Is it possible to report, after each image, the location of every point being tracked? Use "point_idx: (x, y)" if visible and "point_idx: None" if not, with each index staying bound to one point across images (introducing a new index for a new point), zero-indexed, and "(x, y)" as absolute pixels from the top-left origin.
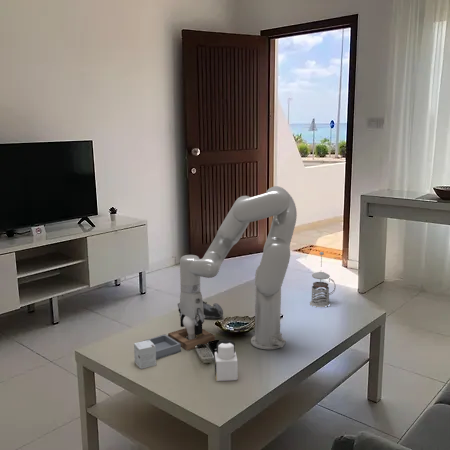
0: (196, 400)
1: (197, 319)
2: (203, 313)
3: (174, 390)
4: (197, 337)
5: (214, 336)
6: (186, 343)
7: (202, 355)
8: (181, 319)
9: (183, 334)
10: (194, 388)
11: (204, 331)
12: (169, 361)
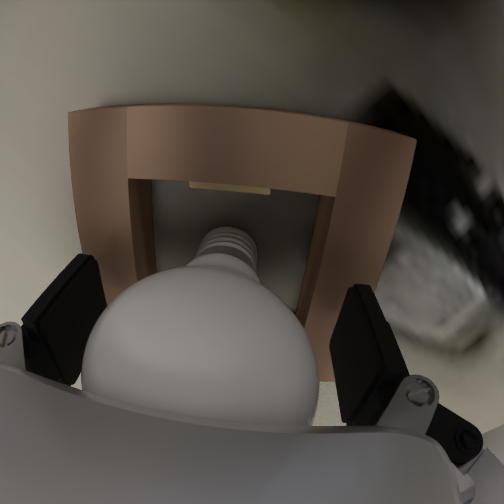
0: (490, 420)
1: (309, 412)
2: (459, 489)
3: None
4: (316, 280)
5: (411, 143)
6: (323, 376)
7: (431, 323)
8: (76, 374)
9: (145, 275)
10: (477, 414)
11: (260, 137)
12: (333, 421)
